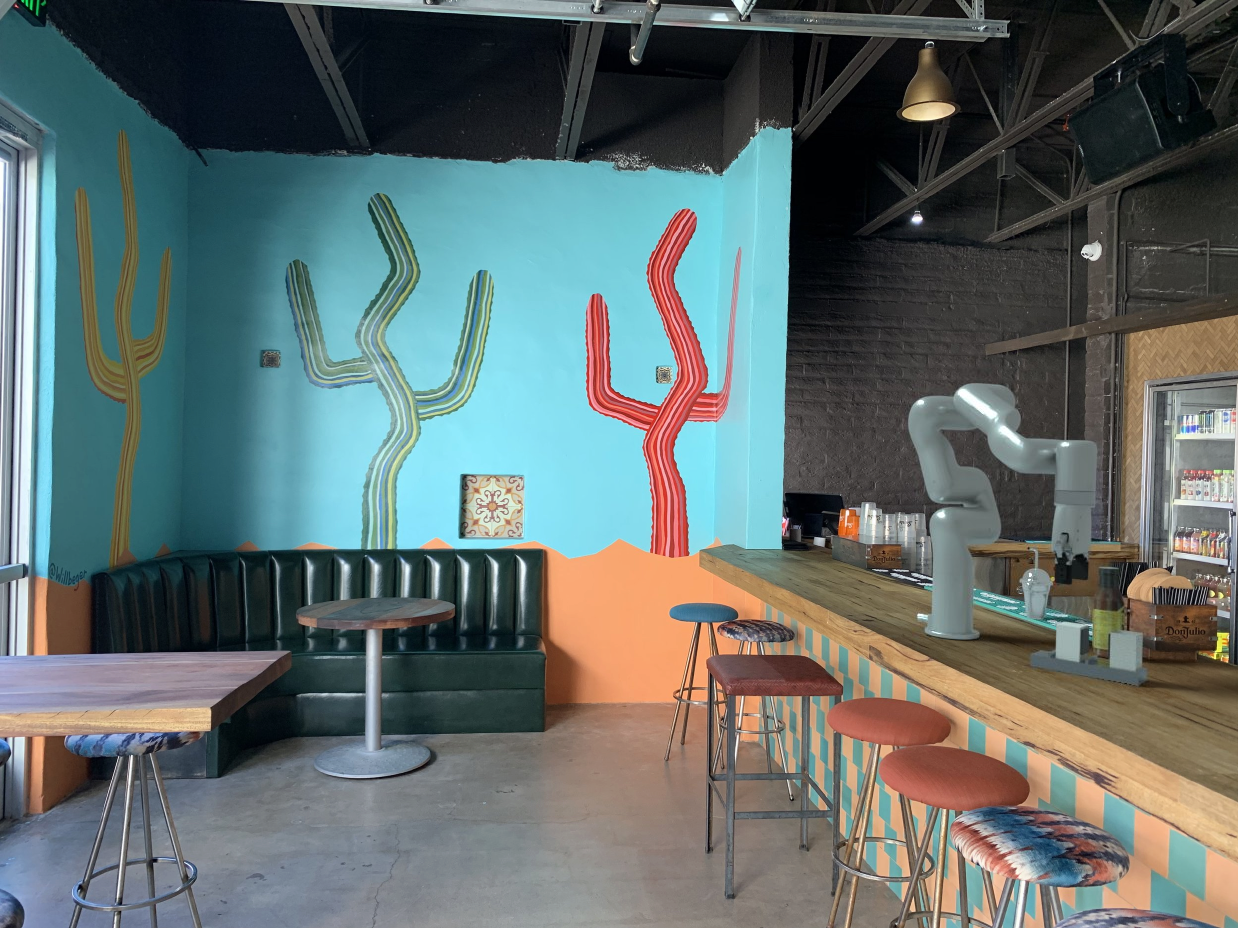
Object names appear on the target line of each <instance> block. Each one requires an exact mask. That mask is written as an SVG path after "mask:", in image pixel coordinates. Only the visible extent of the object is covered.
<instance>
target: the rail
mask: <svg viewBox="0 0 1238 928" xmlns="http://www.w3.org/2000/svg"><path fill="white" fill-rule="evenodd" d="M1143 635H1144V633H1143V632H1137V631H1136V632H1135V631H1131V630H1125V631H1124V630H1115V631H1113V632H1111V633H1110V634H1108V658H1107V660H1109V661H1106V660H1101V659H1098V658H1099V656H1098V655H1095V654H1093V655H1091V656H1089V657H1088V656H1087V658H1086V659H1085V660H1083V661H1080V662H1076V661H1070V660H1065V659H1059V658H1056V648H1055V649H1053V650H1051V651H1047V650H1041V649H1040V650H1038V651H1035V652H1032V653H1031V654H1030V661H1029V662H1030V664H1029V666H1030V667H1033V668H1039V669H1044V670H1049V671H1055V672H1059V671H1060V672H1059V673H1064V674H1069V675H1071V674H1072V675H1074V676H1075V675H1077V676H1082V677H1086V676H1087V677H1086V678H1091V677H1092V678H1091V679H1097V678H1099V679H1098V680H1102V679H1104V680H1103V681H1108V680H1111V681H1110V682H1113V681H1116V682H1115V683H1118V682H1121V683H1120V684H1124V683H1127V684H1126V685H1129V684H1131V685H1130V686H1134V685H1135V687H1139V686H1142V685H1143V684H1144V683H1146V682H1147V681H1148V668H1147V667H1143V641H1144V640H1143V638H1144V637H1143ZM1145 681H1146V682H1145ZM1142 683H1143V684H1142Z"/></svg>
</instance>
